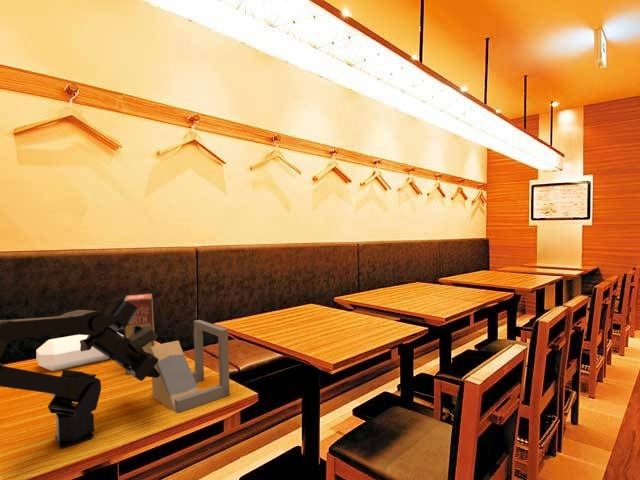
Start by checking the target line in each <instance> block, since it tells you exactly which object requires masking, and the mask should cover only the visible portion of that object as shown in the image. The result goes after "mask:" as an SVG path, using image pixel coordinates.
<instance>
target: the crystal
mask: <svg viewBox="0 0 640 480" xmlns="http://www.w3.org/2000/svg"><path fill="white" fill-rule="evenodd" d="M116 332H117V333H119V332H118V331H116ZM119 334H120V335H122V336H124V335H123V334H121V333H119ZM88 336H89V335H78V334H73V335H69V336H63V337H56V338H51V339H48V340H46V341H45V342H44V343H43V344H42V345H40V346H39V347H38V348H37V349H36V350H35V351H36V352H35V354H36V362H37V364H38V365H39V367H42V368H44V369H46V370H48V371H51V372H55V371H60V370H63V369H64V370H67V369H69V368H74V367H78V366H85V365H88V364H89V365H90V364H93V363H97V362H102V361H107V360H111V359H110V358H109V357H107V356H106V355H104V354H103V353H101V352H100V351H98V350H97V349H95V348H93V347H91V349H90V350H87V351H80V346H81V344H80V340H84V339H86V338H87V337H88Z"/></svg>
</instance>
